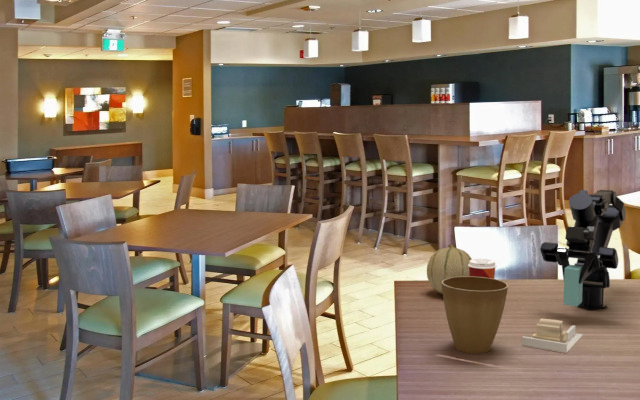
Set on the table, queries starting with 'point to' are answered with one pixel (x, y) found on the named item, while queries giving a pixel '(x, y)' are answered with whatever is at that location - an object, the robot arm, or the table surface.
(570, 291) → the teal rectangular block
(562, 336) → the offcut lower
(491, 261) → the paper cup
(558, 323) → the offcut upper
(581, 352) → the table surface
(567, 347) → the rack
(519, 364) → the table surface
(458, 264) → the cantaloupe
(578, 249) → the robot arm
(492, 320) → the plant pot
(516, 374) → the table surface
